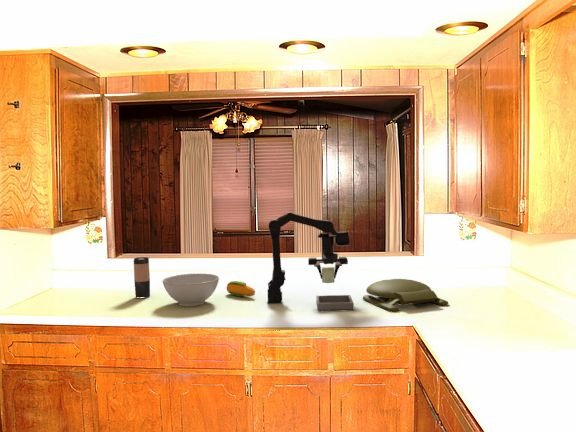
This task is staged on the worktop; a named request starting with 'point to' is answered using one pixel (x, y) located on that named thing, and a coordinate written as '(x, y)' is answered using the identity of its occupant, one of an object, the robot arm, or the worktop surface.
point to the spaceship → (401, 293)
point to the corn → (240, 289)
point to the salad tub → (328, 274)
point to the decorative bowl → (191, 288)
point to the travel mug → (142, 277)
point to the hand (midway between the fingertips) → (328, 278)
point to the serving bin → (335, 303)
